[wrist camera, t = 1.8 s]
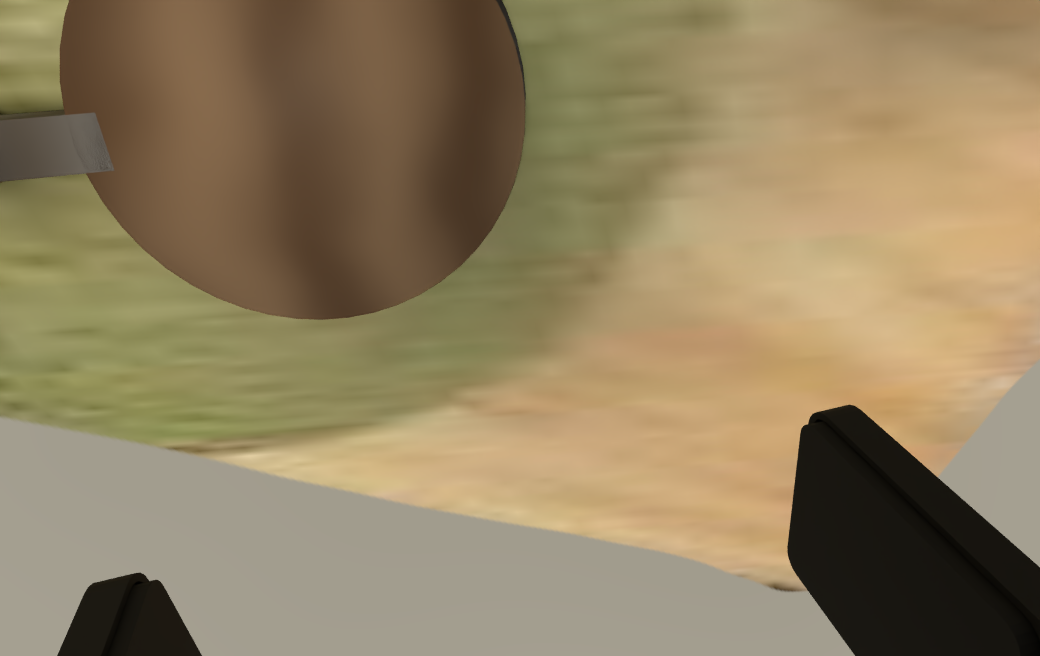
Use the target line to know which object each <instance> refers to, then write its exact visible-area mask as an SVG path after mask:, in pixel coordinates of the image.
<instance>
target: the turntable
mask: <svg viewBox="0 0 1040 656" xmlns="http://www.w3.org/2000/svg"><path fill="white" fill-rule="evenodd" d="M60 85H61V92H62V99H63V105H64V110H56V111H44V112H32V113H20V114H7V115H0V183H2V182H3V181H12V180H22V179H33V178H43V177H53V176H64V175H74V174H84V173H86V174H87V176H88V178H89V179H90V181H91V183H92V185H93V186H94V188H95V190H96V191H97V193H98V195H99V196H100V198H101V200H102V201H103V203H104V204H105V206H106V207H107V208H108V209H109V211H110V212H111V213H112V215H113V216H114V217H115V219H116V220H117V221H118V223H119V224H120V225H121V226H122V228H123V229H124V230H125V231H126V232H127V233H128V234H129V235H130V236H131V237H132V238H133V239H134V240H135V241H136V242H137V243H138V244H139V245H140V246H141V247H142V248H143V249H144V250H145V251H146V252H147V253H148V254H150V255H151V256H152V257H153V258H155V259H156V260H157V261H158V262H159V263H161V264H162V265H163V266H164V267H165V268H167V269H168V270H170V271H171V272H173V273H174V274H176V275H177V276H179V277H180V278H182V279H183V280H185V281H186V282H188V283H189V284H191V285H193V286H195V287H197V288H199V289H201V290H203V291H205V292H207V293H209V294H210V295H212V296H214V297H216V298H219V299H221V300H224V301H227V302H229V303H232V304H235V305H237V306H240V307H242V308H246V309H250V310H254V311H257V312H261V313H265V314H269V315H275V316H282V317H289V318H296V319H322V320H323V319H336V318H348V317H354V316H359V315H364V314H369V313H374V312H377V311H380V310H383V309H386V308H389V307H392V306H396V305H398V304H400V303H403V302H405V301H407V300H409V299H411V298H413V297H416V296H418V295H420V294H422V293H423V292H425V291H426V290H428V289H430V288H431V287H433V286H435V285H436V284H438V283H439V282H441V281H442V280H443V279H445V278H446V277H447V276H448V275H450V274H451V273H452V272H453V271H455V270H456V269H457V268H458V267H460V266H461V265H462V264H463V263H464V262H465V261H466V260H467V258H468V257H469V256H470V255H471V254H472V253H473V252H474V251H475V250H476V249H477V248H478V247H479V245H480V244H481V243H482V241H483V240H484V239H485V237H486V236H487V235H488V233H489V232H490V231H491V229H492V228H493V226H494V224H495V223H496V221H497V219H498V217H499V216H500V214H501V212H502V210H503V209H504V207H505V204H506V202H507V199H508V197H509V195H510V192H511V190H512V187H513V185H514V182H515V178H516V175H517V171H518V167H519V164H520V160H521V154H522V148H523V141H524V134H525V97H524V87H523V78H522V72H521V68H520V64H519V59H518V55H517V51H516V46H515V44H514V41H513V38H512V36H511V33H510V30H509V27H508V25H507V22H506V19H505V17H504V15H503V13H502V11H501V9H500V7H499V5H498V3H497V1H496V0H69V3H68V7H67V10H66V13H65V17H64V24H63V30H62V37H61V44H60Z"/></svg>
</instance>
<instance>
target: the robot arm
mask: <svg viewBox="0 0 1040 656" xmlns="http://www.w3.org/2000/svg"><path fill="white" fill-rule="evenodd" d="M788 557H789V560H790V563H791V566H792V568H793V570H794V571H795V573H796V575H797V576H798V577H799V579H800V580H801V582H802V583H803V584H804V586H805V587H806V588H807V590H808V591H809V593H810V594H811V595H812V597H813V598H814V599H815V601H816V602H817V604H818V605H819V606H820V608H821V609H822V610H823V612H824V613H825V615H826V616H827V617H828V619H829V620H830V622H831V623H832V624H833V626H834V627H835V629H836V630H837V631H838V633H839V634H840V635H841V637H842V638H843V640H844V641H845V642H846V644H847V645H848V646H849V648H850V649H851V650H852V652H853V653H854V655H855V656H1040V567H1039V566H1038V565H1036V564H1035V563H1034V562H1033V561H1032V560H1031V559H1030V558H1029V557H1027V556H1026V555H1025V554H1024V553H1023V552H1022V551H1021V550H1019V549H1018V548H1017V547H1016V546H1015V545H1014V544H1013V543H1011V542H1010V541H1009V540H1008V539H1007V538H1006V537H1005V536H1003V535H1002V534H1001V533H1000V532H999V531H998V530H997V529H996V528H994V527H993V526H992V525H991V524H990V523H989V522H988V521H986V520H985V519H984V518H983V517H982V516H981V515H979V514H978V513H977V512H976V511H975V510H974V509H973V508H972V507H970V506H969V505H968V504H967V503H966V502H965V501H963V500H962V499H961V498H960V497H959V496H958V495H957V494H956V493H955V492H953V491H952V490H951V489H950V488H949V487H948V486H946V485H945V484H944V483H943V482H942V481H941V480H940V479H939V478H938V477H936V476H935V475H934V474H933V473H932V472H931V471H930V470H928V469H927V468H926V467H925V466H924V465H923V464H922V463H920V462H919V461H918V460H917V459H916V458H915V457H914V456H913V455H911V454H910V453H909V452H908V451H907V450H906V449H905V448H903V447H902V446H901V445H900V444H899V443H898V442H897V441H895V440H894V439H893V438H892V437H891V436H890V435H889V434H888V433H886V432H885V431H884V430H883V429H882V428H881V427H880V426H878V425H877V424H876V423H875V422H874V421H873V420H872V419H870V418H869V417H868V416H867V415H866V414H865V413H864V412H863V411H861V410H860V409H859V408H857V407H856V406H853V405H846V406H842V407H837V408H833V409H829V410H825V411H820V412H817V413H814V414H812V416H811V417H810V419H809V423H808V425H804V426H803V427H802V429H801V433H800V442H799V451H798V460H797V469H796V477H795V486H794V495H793V504H792V513H791V522H790V530H789V539H788ZM57 656H202V655H201V653H200V652H199V650H198V648H197V646H196V644H195V642H194V641H193V639H192V637H191V635H190V634H189V631H188V630H187V628H186V626H185V624H184V623H183V621H182V619H181V617H180V615H179V613H178V611H177V610H176V608H175V606H174V604H173V602H172V601H171V599H170V597H169V595H168V593H167V591H166V590H165V588H164V586H163V585H162V583H161V582H160V581H158V580H153V581H149V580H148V579H147V578H146V576H145V575H144V574H142V573H134V574H130V575H126V576H122V577H117V578H113V579H109V580H105V581H101V582H97V583H93V584H92V585H90V586H89V587H88V589H87V590H86V592H85V594H84V596H83V598H82V600H81V602H80V605H79V607H78V609H77V612H76V614H75V616H74V619H73V621H72V623H71V626H70V628H69V630H68V632H67V635H66V637H65V639H64V642H63V644H62V646H61V648H60V651H59V653H58V655H57Z"/></svg>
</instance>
